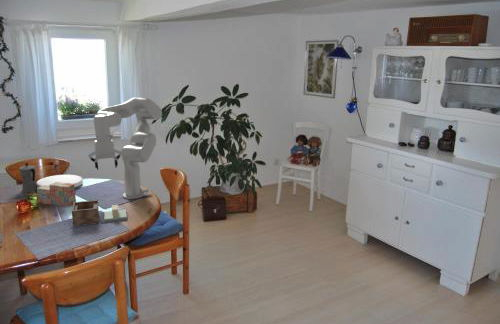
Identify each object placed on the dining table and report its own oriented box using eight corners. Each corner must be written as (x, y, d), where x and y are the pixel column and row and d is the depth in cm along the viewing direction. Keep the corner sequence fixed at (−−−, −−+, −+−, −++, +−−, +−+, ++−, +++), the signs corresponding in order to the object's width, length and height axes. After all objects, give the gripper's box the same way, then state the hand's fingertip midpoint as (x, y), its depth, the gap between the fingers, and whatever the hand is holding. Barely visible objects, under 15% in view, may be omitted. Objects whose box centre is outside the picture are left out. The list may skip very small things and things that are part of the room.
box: (98, 214, 226) (97, 200, 224) (98, 223, 214) (96, 208, 212) (75, 216, 223) (73, 202, 221) (73, 226, 211) (71, 211, 209)
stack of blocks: (38, 203, 242) (35, 183, 238) (46, 199, 247) (43, 180, 244) (69, 207, 236) (67, 186, 233) (76, 203, 242) (74, 183, 239)
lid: (126, 211, 229) (125, 202, 228) (126, 218, 220) (126, 209, 218) (104, 213, 226) (104, 204, 225) (104, 220, 216) (103, 211, 215)
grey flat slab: (126, 210, 231) (126, 210, 231) (127, 220, 218) (127, 219, 218) (101, 213, 227) (101, 212, 227) (101, 223, 214) (101, 222, 214)
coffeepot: (17, 190, 263) (13, 162, 258) (32, 186, 270) (29, 159, 266) (29, 195, 254) (25, 167, 249) (44, 191, 261) (41, 163, 257)
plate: (67, 171, 288) (91, 177, 275) (67, 180, 290) (91, 187, 276) (27, 176, 265) (52, 184, 251) (27, 186, 266) (52, 194, 252)
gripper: (119, 134, 229) (122, 164, 234) (86, 137, 223) (90, 167, 228) (120, 138, 222) (123, 168, 227) (86, 141, 216) (90, 172, 222)
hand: (106, 167), depth 228 cm, fingers open, 9 cm apart
